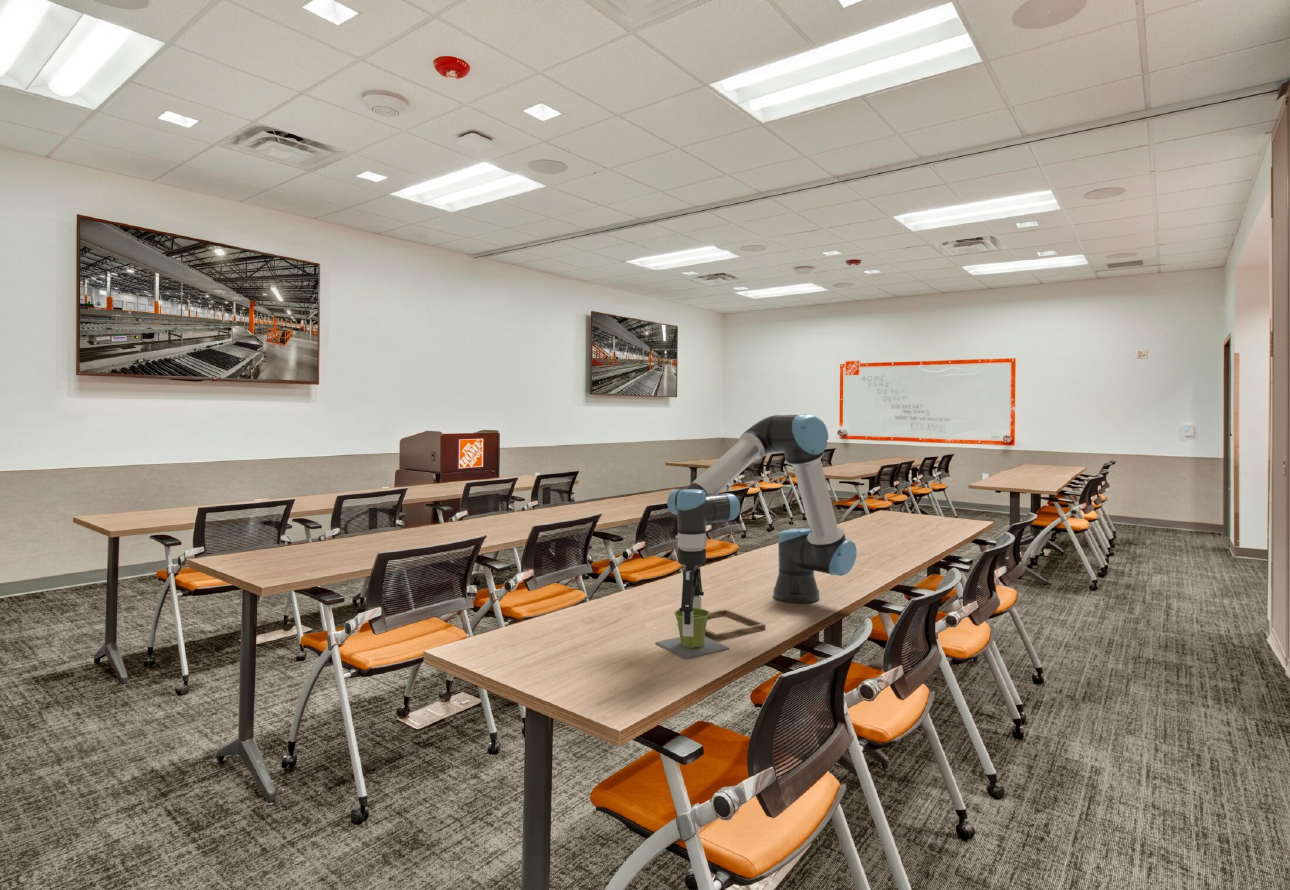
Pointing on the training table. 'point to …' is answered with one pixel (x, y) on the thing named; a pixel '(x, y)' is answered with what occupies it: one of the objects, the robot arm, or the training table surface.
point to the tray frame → (753, 628)
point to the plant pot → (699, 628)
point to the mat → (688, 653)
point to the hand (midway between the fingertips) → (692, 627)
